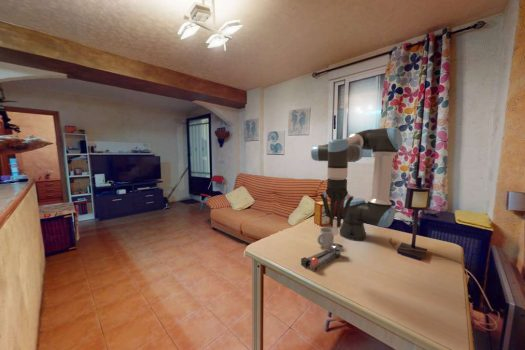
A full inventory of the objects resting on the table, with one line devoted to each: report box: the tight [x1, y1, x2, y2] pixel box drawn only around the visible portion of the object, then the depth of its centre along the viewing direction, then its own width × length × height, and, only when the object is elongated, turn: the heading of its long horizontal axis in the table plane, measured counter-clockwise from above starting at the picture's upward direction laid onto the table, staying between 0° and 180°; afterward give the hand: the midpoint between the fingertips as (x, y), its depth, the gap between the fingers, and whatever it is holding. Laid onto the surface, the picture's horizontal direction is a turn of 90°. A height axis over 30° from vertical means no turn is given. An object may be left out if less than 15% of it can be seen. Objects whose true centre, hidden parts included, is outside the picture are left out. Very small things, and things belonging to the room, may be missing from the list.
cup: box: [316, 227, 335, 249], centre depth 109 cm, size 7×10×9 cm
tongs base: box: [300, 248, 342, 269], centre depth 95 cm, size 22×6×4 cm, turn 124°
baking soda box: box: [313, 200, 331, 227], centre depth 142 cm, size 10×6×16 cm
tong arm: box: [310, 242, 344, 272], centre depth 94 cm, size 22×6×5 cm, turn 129°
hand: (335, 233), depth 82 cm, fingers closed
